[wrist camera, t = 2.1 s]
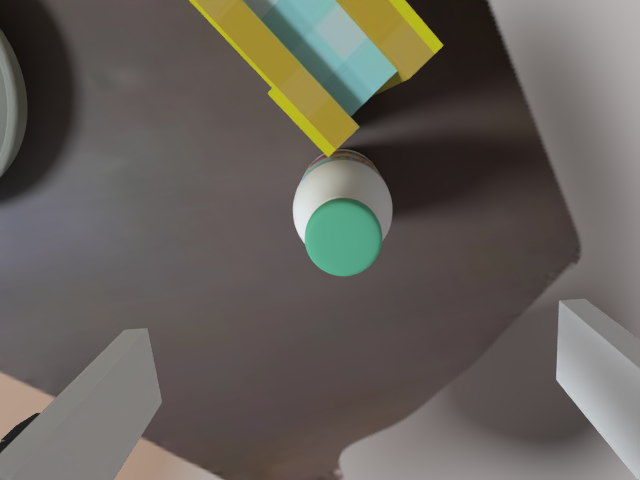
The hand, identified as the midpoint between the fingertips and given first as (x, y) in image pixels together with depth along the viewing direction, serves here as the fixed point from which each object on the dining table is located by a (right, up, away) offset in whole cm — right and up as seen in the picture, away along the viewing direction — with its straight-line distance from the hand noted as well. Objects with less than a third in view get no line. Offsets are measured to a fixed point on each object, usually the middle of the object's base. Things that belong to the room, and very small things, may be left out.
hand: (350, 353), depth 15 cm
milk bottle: (+1, +9, +32) cm, 33 cm away
